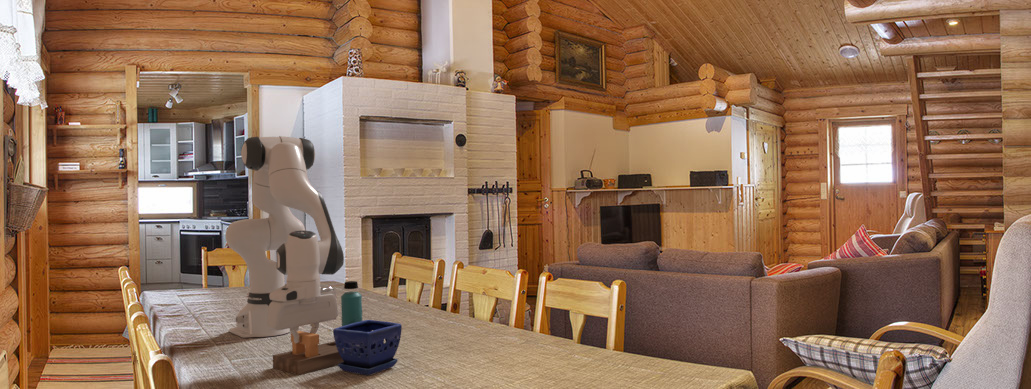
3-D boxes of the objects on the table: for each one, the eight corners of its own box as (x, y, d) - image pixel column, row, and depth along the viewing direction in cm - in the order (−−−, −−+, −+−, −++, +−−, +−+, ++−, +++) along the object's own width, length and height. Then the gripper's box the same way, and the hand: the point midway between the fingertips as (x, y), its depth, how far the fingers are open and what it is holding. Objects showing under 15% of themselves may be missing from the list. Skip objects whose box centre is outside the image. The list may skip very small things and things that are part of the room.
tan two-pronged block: (319, 360, 184) (319, 334, 184) (310, 362, 182) (310, 336, 182) (300, 355, 190) (299, 330, 190) (291, 357, 187) (290, 332, 187)
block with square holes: (273, 368, 185) (272, 355, 185) (345, 350, 204) (345, 339, 204) (298, 374, 177) (298, 361, 177) (371, 356, 196) (371, 344, 196)
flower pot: (369, 379, 172) (368, 332, 172) (332, 372, 179) (331, 327, 179) (404, 367, 184) (403, 323, 184) (368, 361, 191) (367, 318, 191)
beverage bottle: (358, 349, 206) (356, 282, 205) (337, 348, 207) (336, 282, 207) (366, 344, 212) (365, 280, 212) (347, 343, 213) (345, 279, 213)
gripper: (328, 285, 196) (329, 333, 196) (263, 294, 180) (264, 346, 180) (342, 286, 192) (343, 335, 192) (277, 296, 176) (278, 349, 176)
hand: (304, 341), depth 186 cm, fingers closed on tan two-pronged block, 3 cm apart
